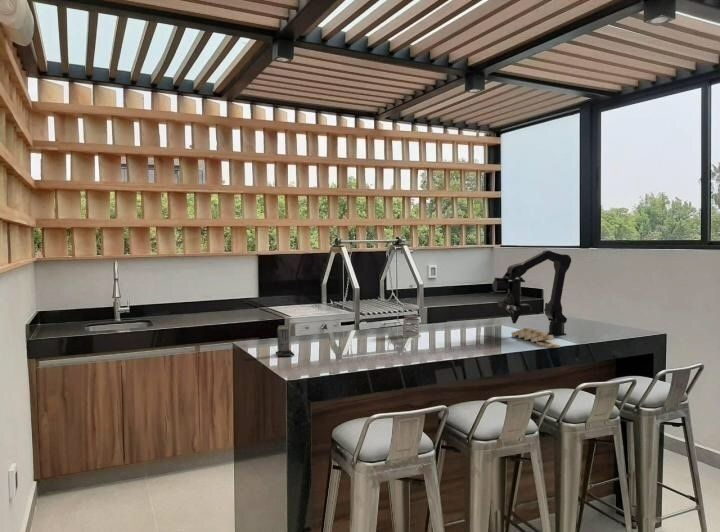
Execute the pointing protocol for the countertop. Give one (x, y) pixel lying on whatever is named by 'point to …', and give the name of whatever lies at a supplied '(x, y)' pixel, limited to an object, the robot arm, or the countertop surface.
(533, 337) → the domino
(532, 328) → the domino
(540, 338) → the domino
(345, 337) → the countertop surface
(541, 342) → the domino
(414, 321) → the french press
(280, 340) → the gray block on base
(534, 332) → the domino
